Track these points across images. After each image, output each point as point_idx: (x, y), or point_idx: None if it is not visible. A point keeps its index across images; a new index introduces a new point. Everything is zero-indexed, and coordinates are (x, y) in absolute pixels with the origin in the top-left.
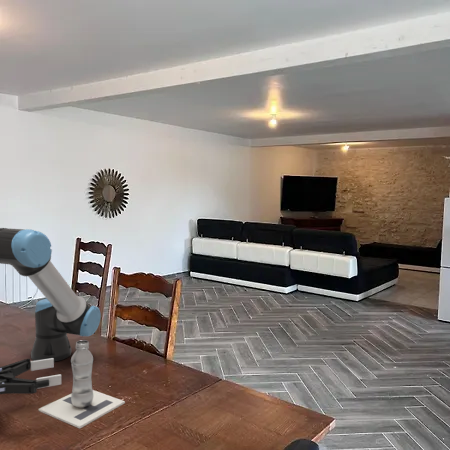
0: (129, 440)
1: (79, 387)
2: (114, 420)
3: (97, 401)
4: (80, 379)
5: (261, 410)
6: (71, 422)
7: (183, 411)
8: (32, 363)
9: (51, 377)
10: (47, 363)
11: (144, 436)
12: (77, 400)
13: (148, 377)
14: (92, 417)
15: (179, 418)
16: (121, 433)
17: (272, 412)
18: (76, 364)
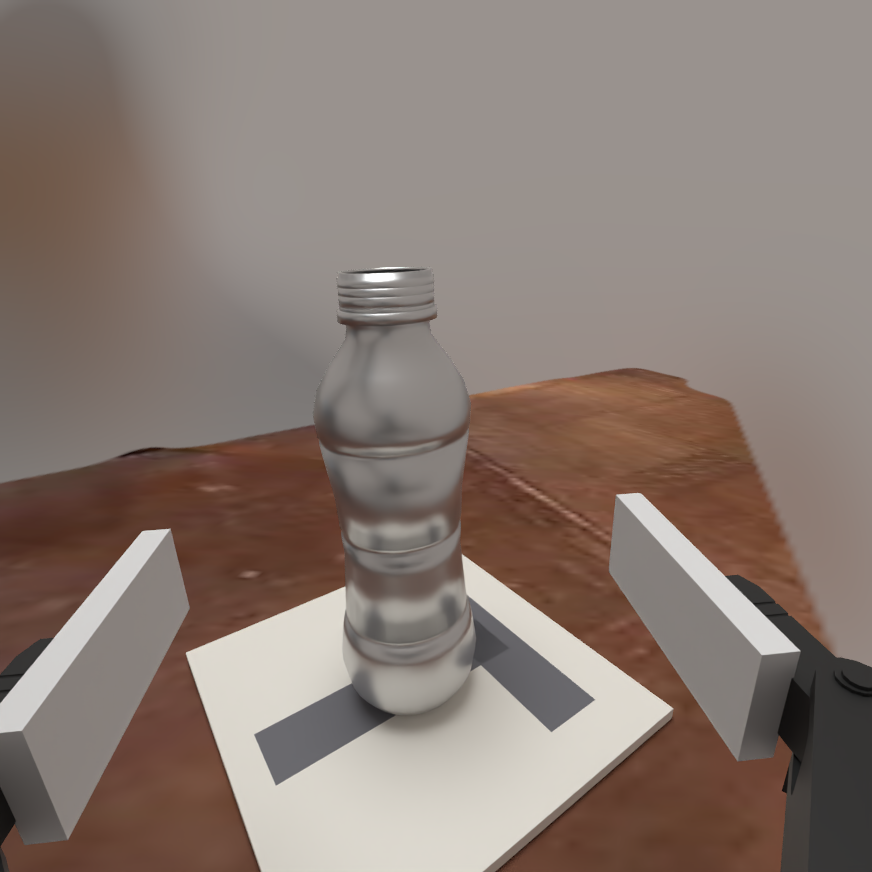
0: (760, 567)
1: (458, 578)
2: (592, 589)
3: None
4: (457, 526)
5: (581, 396)
6: (621, 746)
7: (558, 462)
8: (46, 729)
9: (688, 545)
10: (153, 606)
11: (722, 535)
12: (464, 656)
13: (274, 487)
14: (571, 648)
15: (601, 471)
16: None
17: (592, 390)
18: (454, 431)
